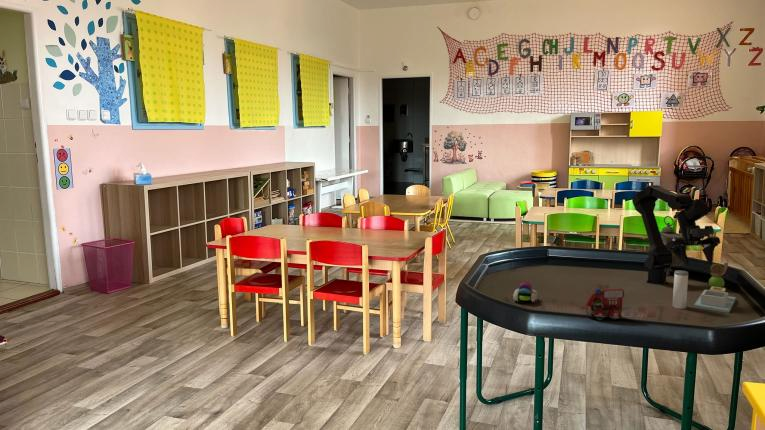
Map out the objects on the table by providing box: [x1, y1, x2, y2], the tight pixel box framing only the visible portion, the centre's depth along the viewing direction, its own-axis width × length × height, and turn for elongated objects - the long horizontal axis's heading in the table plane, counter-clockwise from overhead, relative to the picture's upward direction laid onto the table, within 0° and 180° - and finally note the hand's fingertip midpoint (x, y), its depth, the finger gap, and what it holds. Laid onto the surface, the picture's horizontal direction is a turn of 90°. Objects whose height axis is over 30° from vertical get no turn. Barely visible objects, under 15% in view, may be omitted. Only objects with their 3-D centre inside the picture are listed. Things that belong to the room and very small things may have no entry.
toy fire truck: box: [585, 288, 625, 318], centre depth 206 cm, size 7×12×10 cm, turn 87°
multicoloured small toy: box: [512, 281, 538, 302], centre depth 226 cm, size 8×10×7 cm
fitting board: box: [693, 287, 737, 314], centre depth 219 cm, size 11×18×4 cm, turn 144°
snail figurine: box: [708, 259, 729, 288], centre depth 236 cm, size 5×6×12 cm
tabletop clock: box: [648, 215, 687, 277], centre depth 261 cm, size 14×9×25 cm, turn 6°
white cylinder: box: [671, 270, 689, 310], centre depth 215 cm, size 4×4×13 cm
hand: (699, 265), depth 221 cm, fingers open, 9 cm apart
